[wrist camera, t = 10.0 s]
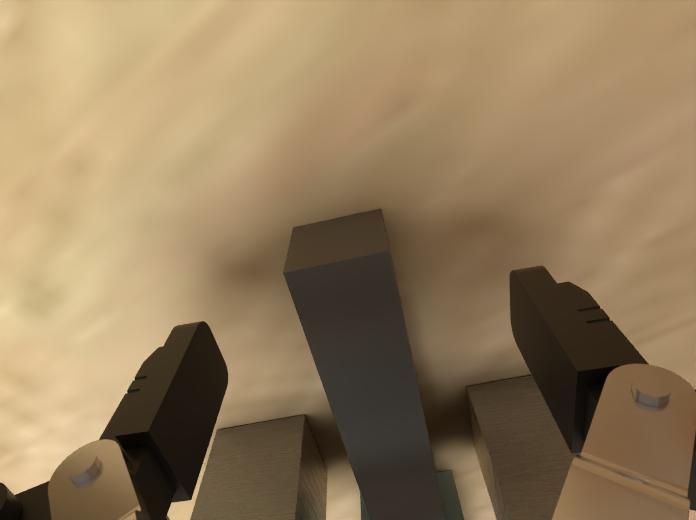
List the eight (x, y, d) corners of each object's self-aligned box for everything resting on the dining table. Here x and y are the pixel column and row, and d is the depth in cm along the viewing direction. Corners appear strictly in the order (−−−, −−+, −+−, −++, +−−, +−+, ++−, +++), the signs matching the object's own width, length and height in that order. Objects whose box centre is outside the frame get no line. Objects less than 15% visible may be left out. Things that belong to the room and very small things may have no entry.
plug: (272, 231, 15) (251, 298, 12) (403, 203, 15) (423, 263, 11) (385, 556, 25) (392, 644, 21) (465, 544, 24) (486, 633, 21)
